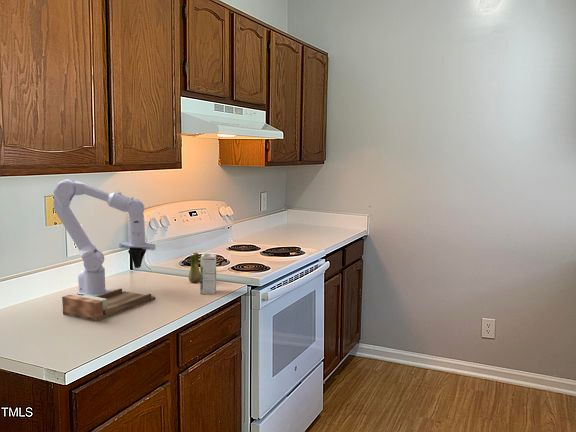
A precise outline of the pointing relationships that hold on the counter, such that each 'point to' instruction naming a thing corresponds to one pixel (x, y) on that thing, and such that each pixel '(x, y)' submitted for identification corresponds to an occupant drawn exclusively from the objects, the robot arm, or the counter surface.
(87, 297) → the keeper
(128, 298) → the track
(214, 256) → the syrup box
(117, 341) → the counter surface
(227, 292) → the counter surface
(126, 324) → the counter surface
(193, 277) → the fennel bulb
